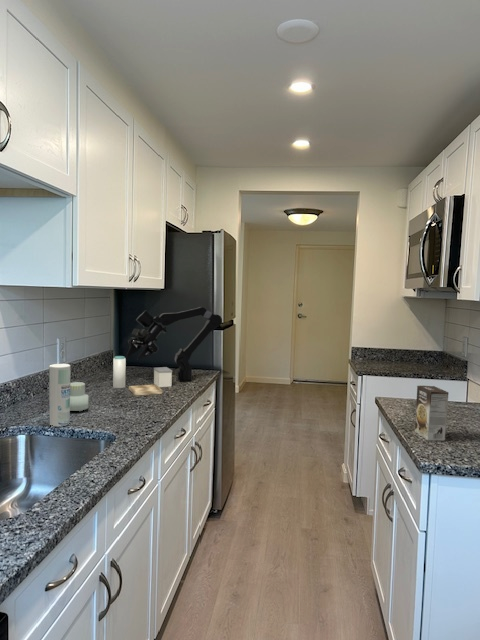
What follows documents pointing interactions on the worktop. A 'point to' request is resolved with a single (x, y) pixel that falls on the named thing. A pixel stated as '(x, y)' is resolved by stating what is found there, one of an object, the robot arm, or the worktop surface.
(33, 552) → the worktop surface
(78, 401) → the air freshener
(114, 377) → the cartridge
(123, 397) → the worktop surface
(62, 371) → the spray can
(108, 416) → the worktop surface
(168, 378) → the box
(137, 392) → the refill tray
